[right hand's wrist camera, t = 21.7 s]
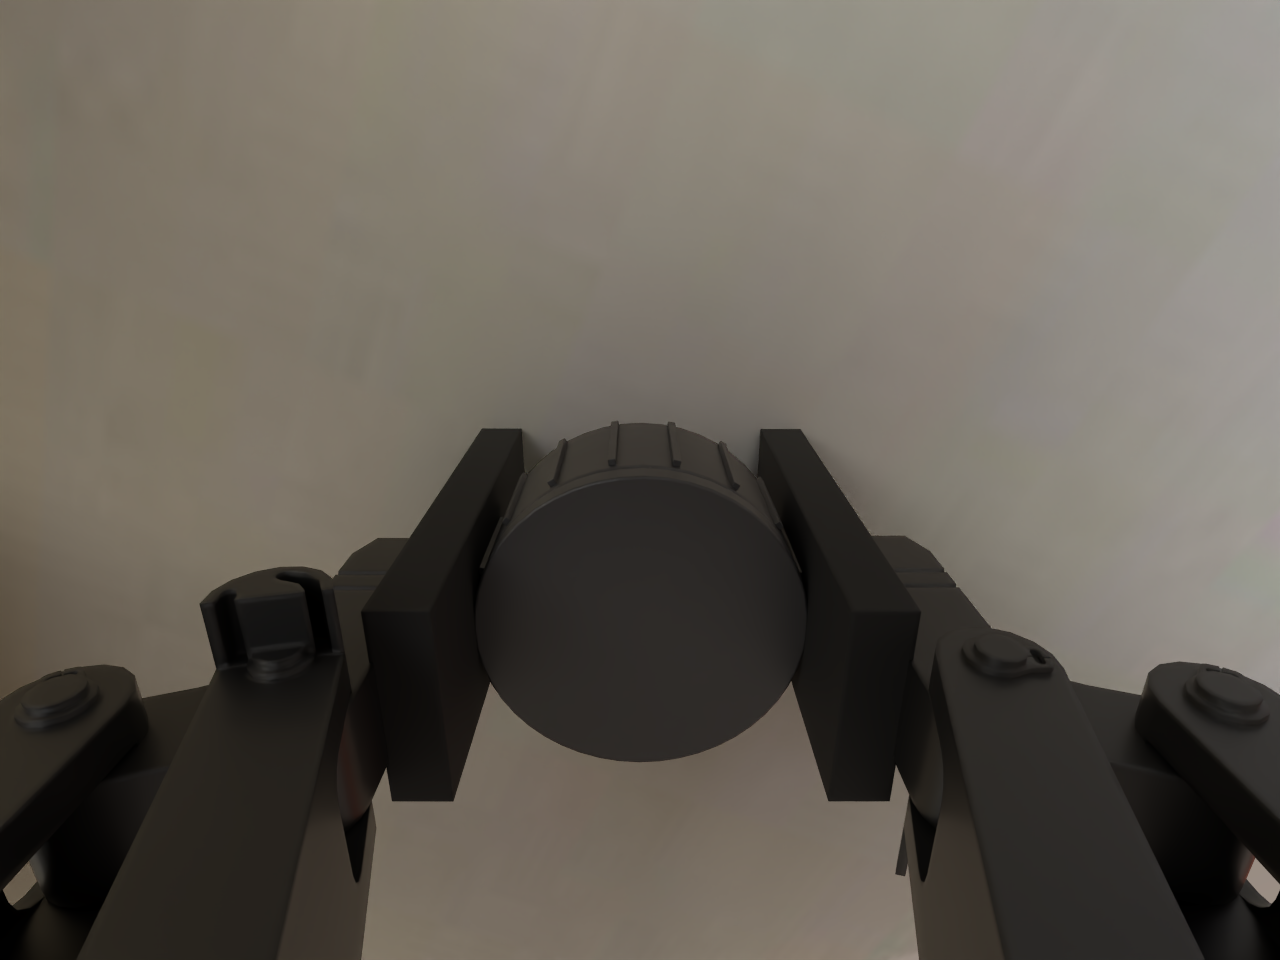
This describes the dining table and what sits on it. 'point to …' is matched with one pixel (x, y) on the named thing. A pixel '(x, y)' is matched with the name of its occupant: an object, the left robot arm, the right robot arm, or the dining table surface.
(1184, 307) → the dining table surface
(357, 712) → the right robot arm
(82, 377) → the dining table surface
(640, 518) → the lid
